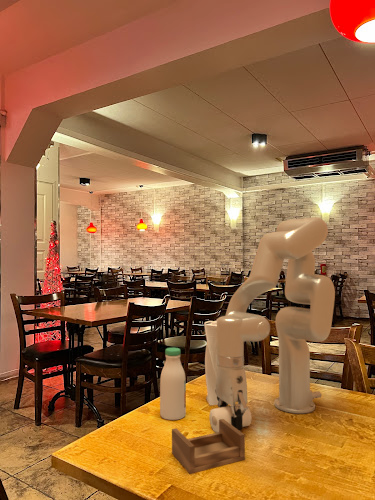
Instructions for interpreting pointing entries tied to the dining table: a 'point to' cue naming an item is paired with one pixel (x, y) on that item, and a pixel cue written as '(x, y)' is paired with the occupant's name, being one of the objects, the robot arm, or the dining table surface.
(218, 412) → the roll
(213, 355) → the skyscraper
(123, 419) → the dining table surface
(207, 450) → the cradle
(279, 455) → the dining table surface
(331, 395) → the dining table surface
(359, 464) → the dining table surface
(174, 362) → the milk bottle
